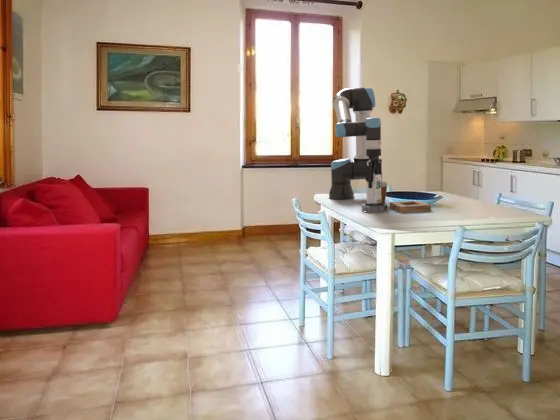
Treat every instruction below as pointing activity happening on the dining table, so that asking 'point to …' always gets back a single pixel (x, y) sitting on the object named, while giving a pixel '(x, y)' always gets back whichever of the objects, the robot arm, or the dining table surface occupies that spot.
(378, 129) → the robot arm
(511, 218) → the dining table surface
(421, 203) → the square socket
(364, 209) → the metal ring
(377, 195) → the syrup box
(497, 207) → the dining table surface
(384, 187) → the disposable coffee cup
